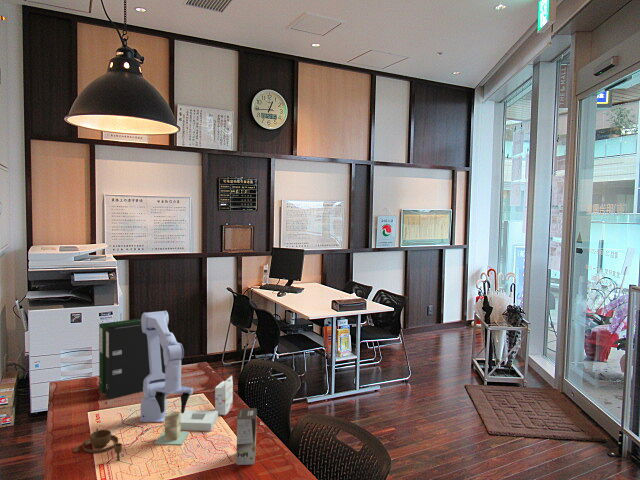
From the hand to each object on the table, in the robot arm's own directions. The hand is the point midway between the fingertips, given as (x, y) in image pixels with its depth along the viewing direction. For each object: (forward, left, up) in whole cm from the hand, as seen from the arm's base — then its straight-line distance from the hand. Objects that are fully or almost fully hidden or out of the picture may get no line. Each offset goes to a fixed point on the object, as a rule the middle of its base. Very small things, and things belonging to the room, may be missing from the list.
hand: (172, 412), depth 179 cm
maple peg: (0, 0, -10) cm, 10 cm away
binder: (-34, +49, -10) cm, 60 cm away
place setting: (-23, -11, -11) cm, 27 cm away
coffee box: (+30, -13, -10) cm, 34 cm away
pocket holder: (+6, +13, -10) cm, 17 cm away
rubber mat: (0, 0, -10) cm, 10 cm away
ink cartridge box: (+14, +26, -10) cm, 31 cm away
